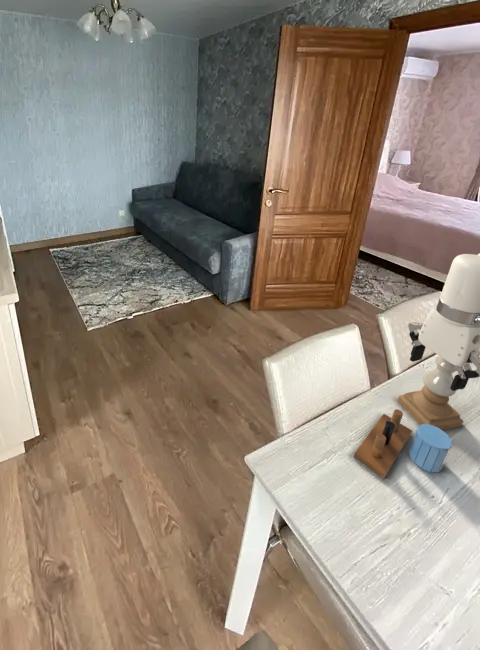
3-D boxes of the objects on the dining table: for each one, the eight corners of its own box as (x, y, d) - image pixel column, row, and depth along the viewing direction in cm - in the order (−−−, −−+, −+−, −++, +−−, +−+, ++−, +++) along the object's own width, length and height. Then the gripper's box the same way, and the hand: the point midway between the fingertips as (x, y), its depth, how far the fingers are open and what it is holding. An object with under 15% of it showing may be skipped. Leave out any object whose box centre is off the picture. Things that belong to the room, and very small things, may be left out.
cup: (439, 454, 86) (449, 431, 83) (443, 477, 80) (454, 453, 77) (408, 442, 89) (417, 419, 86) (409, 463, 83) (419, 440, 80)
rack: (382, 417, 96) (389, 397, 93) (410, 434, 91) (418, 413, 88) (353, 457, 85) (359, 435, 82) (383, 479, 80) (391, 456, 77)
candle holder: (428, 395, 103) (453, 329, 94) (462, 426, 93) (494, 355, 84) (396, 399, 101) (419, 332, 92) (427, 432, 91) (456, 360, 82)
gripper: (518, 331, 67) (486, 397, 74) (432, 289, 82) (412, 347, 89) (492, 338, 65) (462, 406, 71) (408, 294, 80) (390, 353, 87)
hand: (434, 373), depth 80 cm, fingers open, 9 cm apart
